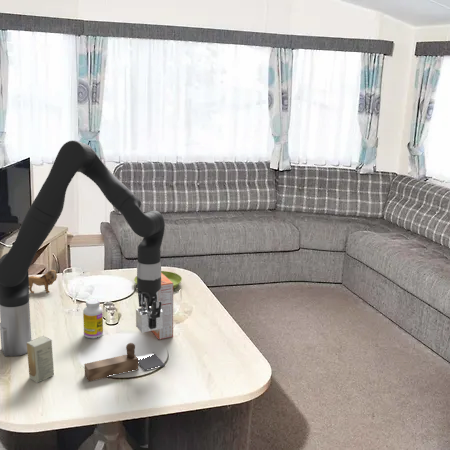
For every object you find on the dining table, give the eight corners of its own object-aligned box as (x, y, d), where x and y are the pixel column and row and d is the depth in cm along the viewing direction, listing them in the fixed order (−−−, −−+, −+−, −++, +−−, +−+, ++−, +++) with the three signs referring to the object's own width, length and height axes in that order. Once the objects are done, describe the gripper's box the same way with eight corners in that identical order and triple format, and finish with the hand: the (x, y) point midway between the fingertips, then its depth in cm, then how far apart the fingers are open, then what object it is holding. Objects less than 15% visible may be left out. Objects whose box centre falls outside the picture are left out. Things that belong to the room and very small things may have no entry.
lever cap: (142, 332, 184) (141, 313, 183) (136, 326, 189) (135, 307, 187) (162, 328, 188) (162, 309, 186) (156, 322, 192) (156, 303, 190)
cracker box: (144, 324, 218) (144, 271, 213) (159, 322, 221) (159, 269, 216) (157, 340, 206) (157, 284, 201) (173, 337, 209) (174, 282, 204)
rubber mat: (144, 370, 186) (144, 369, 186) (134, 358, 193) (134, 356, 193) (164, 366, 189) (164, 364, 189) (153, 354, 197) (153, 352, 197)
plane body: (88, 381, 179) (87, 355, 176) (84, 375, 182) (83, 350, 180) (138, 369, 186) (138, 344, 184) (133, 364, 190) (133, 339, 187)
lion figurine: (57, 287, 251) (56, 267, 248) (57, 292, 246) (57, 271, 243) (21, 290, 246) (19, 270, 244) (20, 295, 242) (19, 274, 239)
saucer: (164, 274, 272) (164, 267, 271) (191, 287, 256) (191, 280, 256) (125, 283, 259) (125, 276, 258) (150, 298, 244) (150, 291, 243)
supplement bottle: (98, 340, 205) (97, 306, 202) (80, 337, 206) (79, 303, 203) (106, 332, 212) (105, 298, 208) (88, 329, 213) (87, 296, 209)
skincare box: (46, 370, 184) (44, 334, 181) (54, 375, 181) (52, 339, 178) (28, 378, 179) (25, 341, 176) (36, 383, 177) (34, 346, 173)
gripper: (129, 269, 188) (129, 318, 192) (146, 284, 176) (146, 336, 180) (151, 266, 191) (151, 314, 196) (169, 280, 179) (169, 331, 184)
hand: (149, 324), depth 188 cm, fingers closed on lever cap, 5 cm apart
